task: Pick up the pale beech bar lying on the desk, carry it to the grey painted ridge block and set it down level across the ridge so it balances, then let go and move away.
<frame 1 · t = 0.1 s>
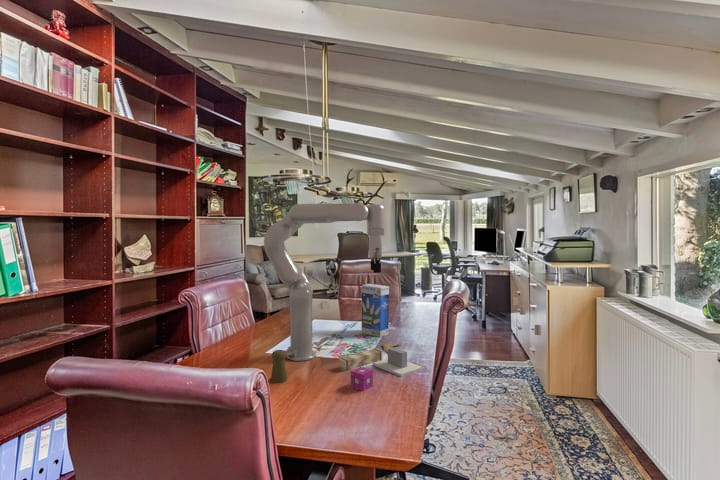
hand: (375, 271, 171), 37 cm above the table, tool pointing down, fingers open, 9 cm apart
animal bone: (394, 353, 176), on the table
string lights box: (375, 334, 205), on the table
cork: (279, 380, 144), on the table
puzzle toy: (361, 387, 138), on the table
beech bar: (361, 364, 160), on the table
ridge block: (397, 367, 157), on the table
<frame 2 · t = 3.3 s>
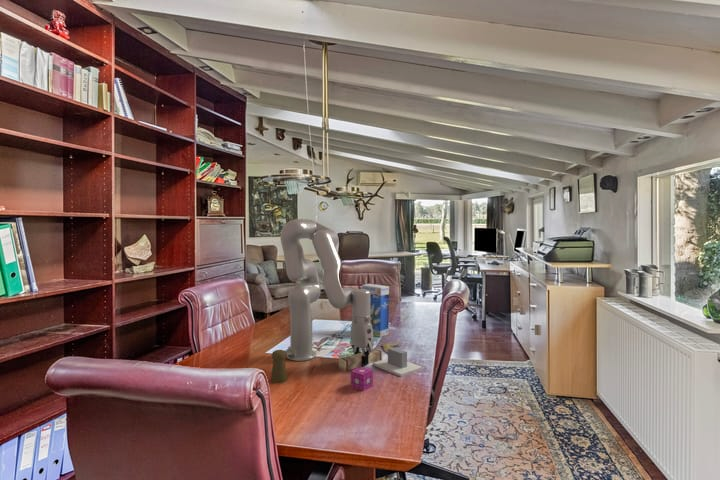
hand: (361, 362, 160), 1 cm above the table, tool pointing down, fingers closed on beech bar, 4 cm apart
beech bar: (361, 364, 160), on the table, touching gripper
everything else where it was.
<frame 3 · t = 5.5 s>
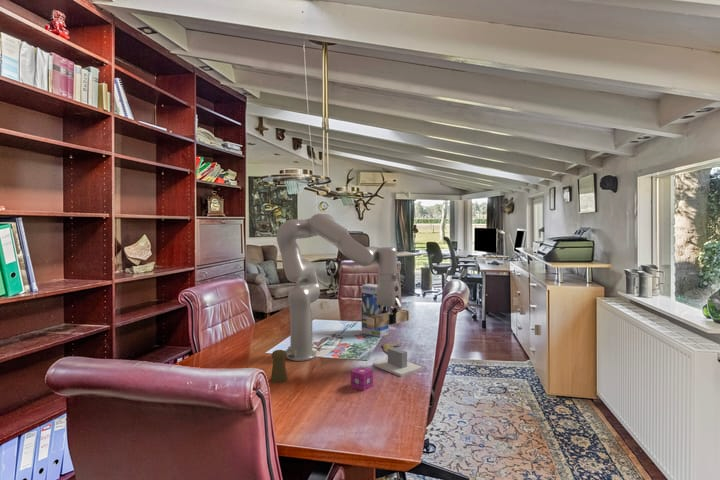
hand: (388, 322, 157), 18 cm above the table, tool pointing down, fingers closed on beech bar, 4 cm apart
beech bar: (388, 323, 157), point 18 cm above the table, touching gripper
everything else where it was.
when the fingers open (8 cm above the table, at t = 7.3 s): beech bar stays where it is, resting on ridge block.
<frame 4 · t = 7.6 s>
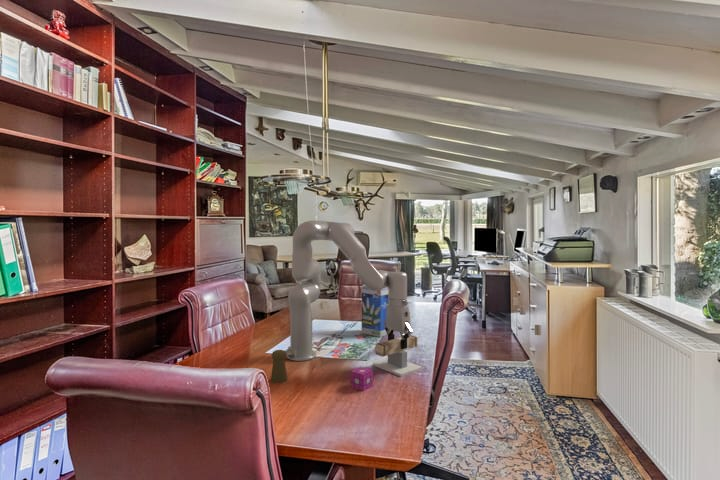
hand: (397, 346, 156), 9 cm above the table, tool pointing down, fingers open, 6 cm apart
beech bar: (397, 350, 156), point 7 cm above the table, touching ridge block
everything else where it was.
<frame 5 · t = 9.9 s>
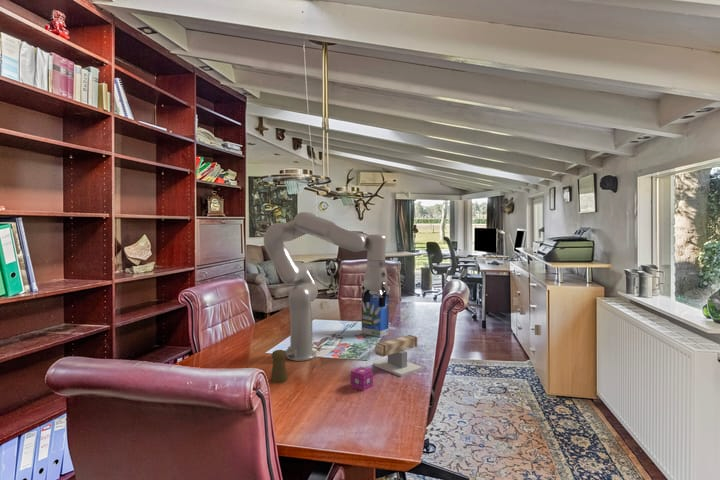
hand: (374, 304, 163), 24 cm above the table, tool pointing down, fingers open, 9 cm apart
nothing on the table moved.
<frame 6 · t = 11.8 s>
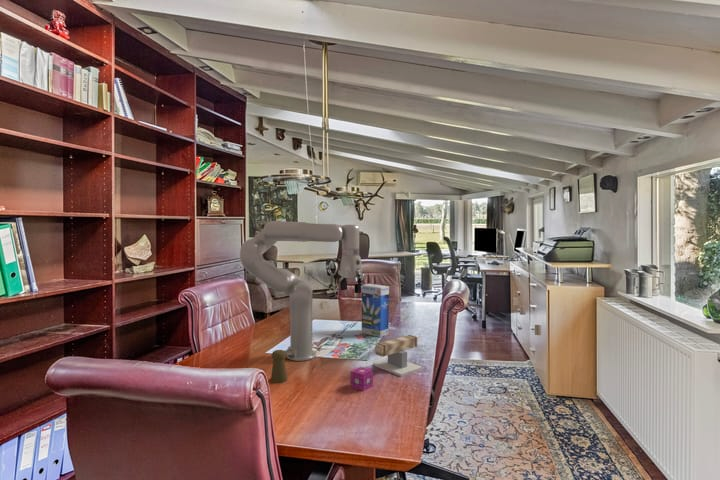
hand: (350, 291, 171), 28 cm above the table, tool pointing down, fingers open, 9 cm apart
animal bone: (393, 353, 175), on the table, touching ridge block
everything else where it was.
at the end: beech bar 0.1 cm off-centre on the ridge block, point 7.0 cm above the ridge block's base; beech bar tilted 0°; beech bar touching ridge block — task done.
